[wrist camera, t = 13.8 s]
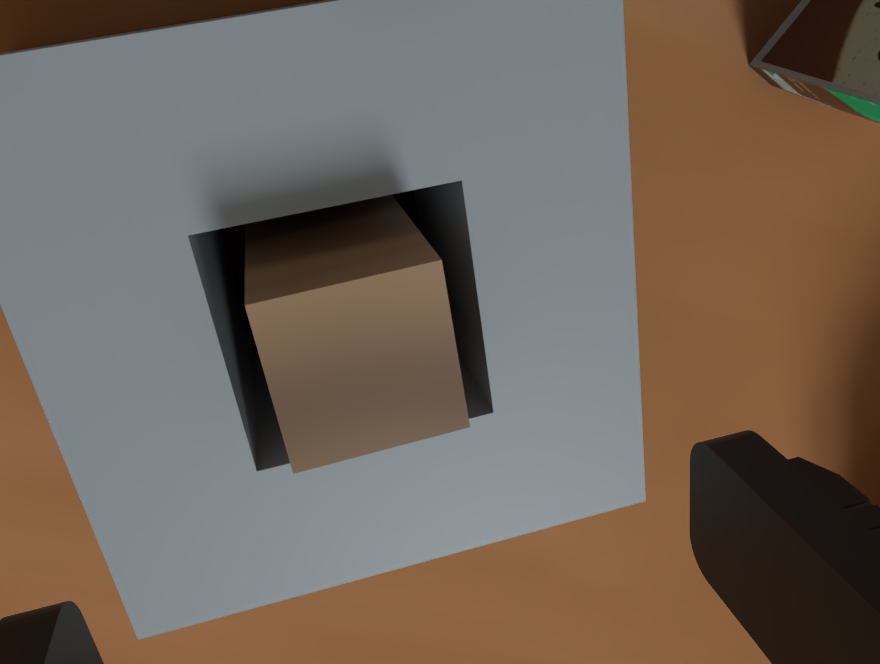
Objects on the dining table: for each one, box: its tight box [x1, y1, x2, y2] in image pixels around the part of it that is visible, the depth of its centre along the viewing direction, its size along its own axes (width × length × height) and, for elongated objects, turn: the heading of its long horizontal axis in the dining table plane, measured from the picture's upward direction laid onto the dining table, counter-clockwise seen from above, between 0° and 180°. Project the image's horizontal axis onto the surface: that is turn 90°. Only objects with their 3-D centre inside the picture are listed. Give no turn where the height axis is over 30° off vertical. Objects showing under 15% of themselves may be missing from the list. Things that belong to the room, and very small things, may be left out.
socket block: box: [0, 0, 646, 640], centre depth 21 cm, size 14×14×7 cm
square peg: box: [245, 195, 470, 474], centre depth 20 cm, size 4×4×9 cm
